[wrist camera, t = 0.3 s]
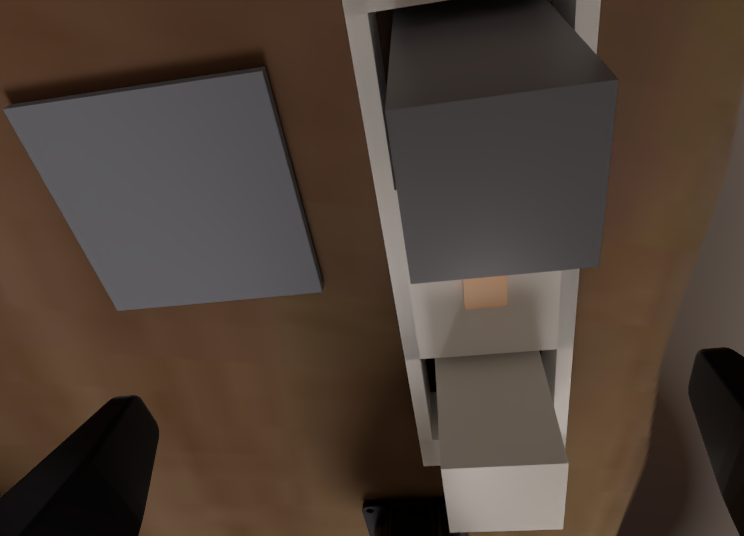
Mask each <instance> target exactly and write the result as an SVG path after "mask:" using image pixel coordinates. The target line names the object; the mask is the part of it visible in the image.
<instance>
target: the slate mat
mask: <svg viewBox="0 0 744 536" xmlns="http://www.w3.org/2000/svg"><path fill="white" fill-rule="evenodd" d="M3 110H4V112H5V114H6V116H7V117H8V119H9V121H10V123H11V124H12V126H13V128H14V130H15V131H16V133H17V135H18V137H19V138H20V140H21V142H22V144H23V146H24V147H25V149H26V151H27V153H28V154H29V156H30V158H31V160H32V161H33V163H34V165H35V167H36V168H37V170H38V172H39V174H40V175H41V177H42V179H43V181H44V182H45V184H46V186H47V188H48V189H49V191H50V193H51V195H52V196H53V198H54V200H55V202H56V203H57V205H58V207H59V209H60V210H61V212H62V214H63V216H64V217H65V219H66V221H67V223H68V224H69V226H70V228H71V230H72V232H73V233H74V235H75V237H76V239H77V240H78V242H79V244H80V246H81V247H82V249H83V251H84V253H85V254H86V256H87V258H88V260H89V261H90V263H91V265H92V267H93V268H94V270H95V272H96V274H97V275H98V277H99V279H100V281H101V282H102V284H103V286H104V288H105V289H106V291H107V293H108V295H109V296H110V298H111V300H112V302H113V303H114V305H115V307H116V309H117V311H122V310H133V309H144V308H155V307H166V306H177V305H188V304H199V303H210V302H221V301H232V300H243V299H254V298H265V297H275V296H286V295H297V294H308V293H319V292H323V287H324V284H323V281H322V277H321V273H320V269H319V266H318V262H317V258H316V255H315V251H314V247H313V243H312V240H311V236H310V232H309V228H308V225H307V221H306V217H305V214H304V210H303V206H302V202H301V199H300V195H299V191H298V187H297V184H296V180H295V176H294V173H293V169H292V165H291V161H290V158H289V154H288V150H287V146H286V143H285V139H284V135H283V132H282V128H281V124H280V120H279V117H278V113H277V109H276V105H275V102H274V98H273V94H272V91H271V87H270V83H269V79H268V76H267V72H266V68H265V66H264V67H258V68H251V69H244V70H238V71H231V72H224V73H217V74H211V75H204V76H197V77H191V78H184V79H177V80H170V81H164V82H157V83H150V84H144V85H137V86H130V87H123V88H117V89H110V90H103V91H97V92H90V93H83V94H76V95H70V96H63V97H56V98H50V99H43V100H36V101H29V102H23V103H16V104H10V105H9V106H7V107H6V108H4V109H3Z"/></svg>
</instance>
